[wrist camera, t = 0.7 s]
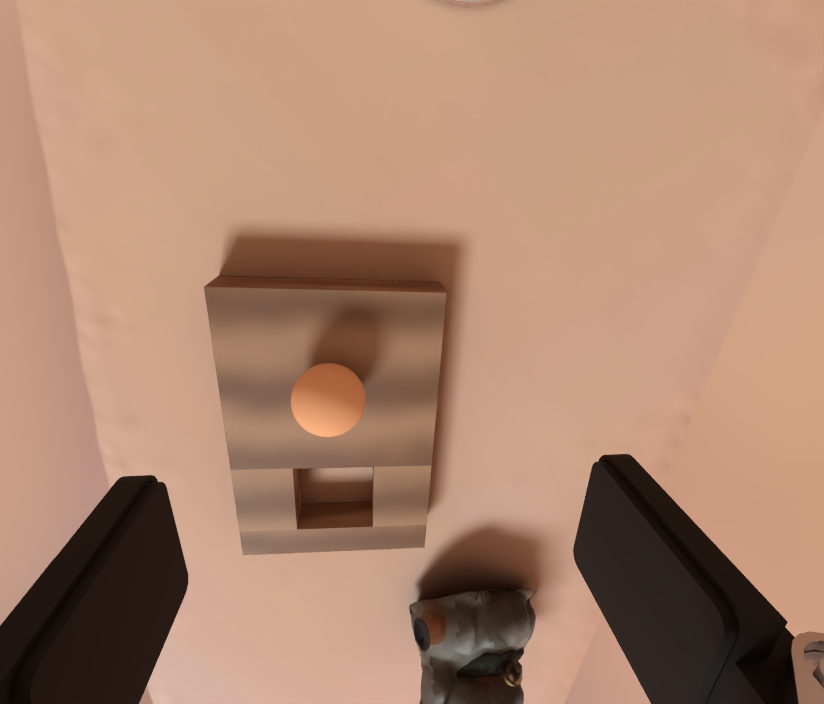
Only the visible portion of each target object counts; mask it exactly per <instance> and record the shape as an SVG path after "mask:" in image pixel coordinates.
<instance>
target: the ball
mask: <svg viewBox="0 0 824 704" xmlns="http://www.w3.org/2000/svg"><path fill="white" fill-rule="evenodd" d="M365 402H366V397H365V390H364V387H363V385H362V383H361V381H360V379H359V378H358V376H357V375H356V374H355V373H354V372H353V371H351V370H350V369H348V368H347V367H344V366H342V365H339V364H334V363H324V364H319V365H316V366H313V367H311V368H310V369H308V370H306V371H305V372H304V373H303V374H302V375H301V376H300V377H299V378H298V380H297V381H296V383H295V385H294V387H293V390H292V394H291V408H292V412H293V415H294V417H295V419H296V420H297V422H298V423H299V424H300V425H301V427H303V428H304V429H305V430H306V431H308V432H310V433H312V434H314V435H317V436H321V437H333V436H338V435H341V434H344V433H345V432H347V431H349V430H350V429H351V428H353V427H354V426H355V425H356V424H357V422H358V421H359V420H360V418H361V416H362V414H363V411H364V408H365Z"/></svg>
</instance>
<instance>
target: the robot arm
mask: <svg viewBox="0 0 824 704" xmlns="http://www.w3.org/2000/svg"><path fill="white" fill-rule="evenodd" d="M440 1H442V2H445V3H447V4H452V5H458V6H464V7H475V6H487V5H491V4H494V3H497V2H500V1H503V0H440ZM573 552H574V559H575V562H576V565H577V567H578V569H579V570H580V572H581V574H582V576H583V578H584V580H585V582H586V583H587V585H588V587H589V589H590V591H591V593H592V595H593V596H594V598H595V600H596V602H597V604H598V606H599V608H600V609H601V611H602V613H603V615H604V617H605V619H606V621H607V622H608V624H609V626H610V628H611V630H612V632H613V634H614V635H615V637H616V639H617V641H618V643H619V645H620V647H621V648H622V650H623V652H624V654H625V656H626V658H627V659H628V661H629V663H630V665H631V667H632V669H633V671H634V673H635V674H636V676H637V678H638V680H639V682H640V684H641V686H642V687H643V689H644V691H645V693H646V695H647V697H648V698H649V700H650V702H651V704H824V633H817V632H806V633H801V634H799V635H797V636H796V637H794V636H793V635H792V634H791V633H790V632H789V631H788V630H787V629H786V628H785V626H786V624H787V621H786V620H785V619H784V618H783V617H782V615H780V613H779V612H778V611H777V610H776V609H775V608H774V607H773V606H772V605H771V604H770V603H769V602H768V601H767V599H766V598H765V597H764V596H763V595H762V594H761V593H760V592H759V591H758V590H757V589H756V588H755V587H754V586H753V585H752V584H751V582H750V581H749V580H748V579H747V578H746V577H745V576H744V575H743V574H742V573H741V572H740V571H739V570H738V569H737V568H736V566H735V565H734V564H733V563H732V562H731V561H730V560H729V559H728V558H727V557H726V556H725V555H724V554H723V553H722V552H721V550H720V549H719V548H718V547H717V546H716V545H715V544H714V543H713V542H712V541H711V540H710V539H709V538H708V537H707V536H706V535H705V533H703V531H702V530H701V529H700V528H699V527H698V526H697V525H696V524H695V523H694V522H693V521H692V520H691V519H690V517H689V516H688V515H687V514H686V513H685V512H684V511H683V510H682V509H681V508H680V507H679V506H678V505H677V504H676V502H675V501H674V500H673V499H672V498H671V497H670V496H669V495H668V494H667V493H666V492H665V491H664V490H663V489H662V488H661V487H660V485H659V484H658V483H657V482H656V481H655V480H654V479H653V478H652V477H651V476H650V475H649V474H648V473H647V472H646V471H645V469H644V468H643V467H642V466H641V465H640V464H639V463H638V462H637V461H636V460H635V459H634V458H633V457H632V456H631V455H628V454H617V455H603V456H601V458H600V459H599V461H598V462H595V463H594V464H593V466H592V470H591V474H590V479H589V483H588V487H587V492H586V496H585V500H584V505H583V509H582V513H581V518H580V522H579V526H578V531H577V535H576V539H575V544H574V549H573ZM187 586H188V572H187V568H186V564H185V560H184V556H183V552H182V548H181V544H180V540H179V536H178V532H177V528H176V524H175V520H174V516H173V512H172V508H171V504H170V500H169V496H168V492H167V488H166V485H165V484H164V483H163V482H158V481H157V479H156V477H155V476H152V475H147V476H125V477H121V478H119V479H118V480H117V481H116V482H115V484H114V485H113V486H112V487H111V489H110V490H109V491H108V492H107V494H106V495H105V496H104V498H103V499H102V500H101V501H100V503H99V504H98V505H97V506H96V508H95V509H94V510H93V511H92V513H91V514H90V515H89V516H88V518H87V519H86V520H85V521H84V523H83V524H82V525H81V526H80V528H79V529H78V530H77V531H76V533H75V534H74V535H73V536H72V538H71V539H70V540H69V541H68V543H67V544H66V545H65V547H64V548H63V549H62V550H61V552H60V553H59V554H58V555H57V556H56V557H55V558H54V560H53V561H52V562H51V563H50V564H49V566H48V567H47V568H46V569H45V571H44V572H43V573H42V574H41V576H40V577H39V578H38V579H37V581H36V582H35V583H34V585H33V586H32V587H31V588H30V589H29V591H28V592H27V593H26V594H25V596H24V597H23V598H22V599H21V601H20V602H19V603H18V605H17V606H16V607H15V608H14V610H13V611H12V612H11V613H10V614H9V616H8V617H7V618H6V620H5V621H4V622H3V623H2V624H1V626H0V704H139V702H140V700H141V697H142V695H143V693H144V691H145V688H146V686H147V683H148V681H149V679H150V676H151V674H152V672H153V669H154V667H155V665H156V662H157V660H158V657H159V655H160V653H161V650H162V648H163V646H164V643H165V641H166V639H167V636H168V634H169V631H170V629H171V627H172V624H173V622H174V620H175V617H176V615H177V613H178V610H179V608H180V605H181V603H182V601H183V598H184V596H185V593H186V590H187Z"/></svg>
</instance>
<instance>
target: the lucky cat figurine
mask: <svg viewBox="0 0 824 704" xmlns="http://www.w3.org/2000/svg"><path fill="white" fill-rule="evenodd" d="M535 592H536V591H534V590H532V589H518V590H495V589H487V590H484V591H473V592H471V591H469V592H463V593H457V594H453V595H450V596H446V597H442V598H438V599H428V600H420V601H417V602H415V603H413V604H411V605H410V606H409V608H410V614H411V621H412V628H413V631H414V636H415V641H416V643H417V645H418V649H419V653H420V656H421V667H422V671H423V672H422V680H421V700H420V704H523V702H524V697H523V696H524V693H523V690H522V688H521V681H522V665H521V664H520V663H519V662H518V660H519V659H520V658H521V656H522V655H523V653H524V648H525V646H526V644H527V643H528V641H529V640H530V638H531V636H532V633H533V631H534V626H535V619H536V616H535V613H534V610H533V608H532V607H531V605H530V602H529V599H530V597H531V596H532V594H533V593H535Z"/></svg>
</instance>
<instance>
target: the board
mask: <svg viewBox="0 0 824 704" xmlns="http://www.w3.org/2000/svg"><path fill="white" fill-rule="evenodd" d="M204 290H205V297H206V304H207V310H208V317H209V324H210V331H211V338H212V345H213V352H214V359H215V366H216V372H217V379H218V386H219V393H220V400H221V407H222V414H223V421H224V428H225V434H226V441H227V448H228V455H229V462H230V469H231V476H232V483H233V490H234V496H235V503H236V510H237V517H238V524H239V531H240V538H241V545H242V551H243V555H259V554H282V553H306V552H329V551H353V550H376V549H399V548H423V547H425V535H426V524H427V513H428V501H429V490H430V478H431V467H432V455H433V444H434V432H435V421H436V409H437V398H438V387H439V375H440V364H441V352H442V341H443V329H444V318H445V306H446V295H447V293H446V291H445V289H444V288H443V286H442V285H441V283H440V282H426V281H389V280H352V279H315V278H278V277H241V276H218V277H216V278H215V279H214V280H213V281H211V282H210V283H209V284H207V285H206V286H205V287H204ZM324 363H334V364H339V365H342V366H344V367H347V368H348V369H350V370H351V371H353V372H354V373H355V374H356V375H357V376H358V378H359V379H360V381H361V383H362V385H363V387H364V390H365V397H366V402H365V408H364V411H363V414H362V416H361V418H360V420H359V421H358V422H357V424H356V425H355V426H354V427H353V428H351V429H350V430H349V431H347V432H345V433H344V434H341V435H338V436H333V437H321V436H317V435H314V434H312V433H310V432H308V431H306V430H305V429H304V428H303V427H301V425H300V424H299V423H298V422H297V420H296V419H295V417H294V415H293V412H292V408H291V394H292V390H293V387H294V385H295V383H296V381H297V380H298V378H299V377H300V376H301V375H302V374H303V373H304V372H305V371H306V370H308V369H310V368H311V367H313V366H316V365H319V364H324ZM343 467H373V495H372V502H357V503H324V504H302V501H301V485H300V470H299V468H343Z"/></svg>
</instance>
